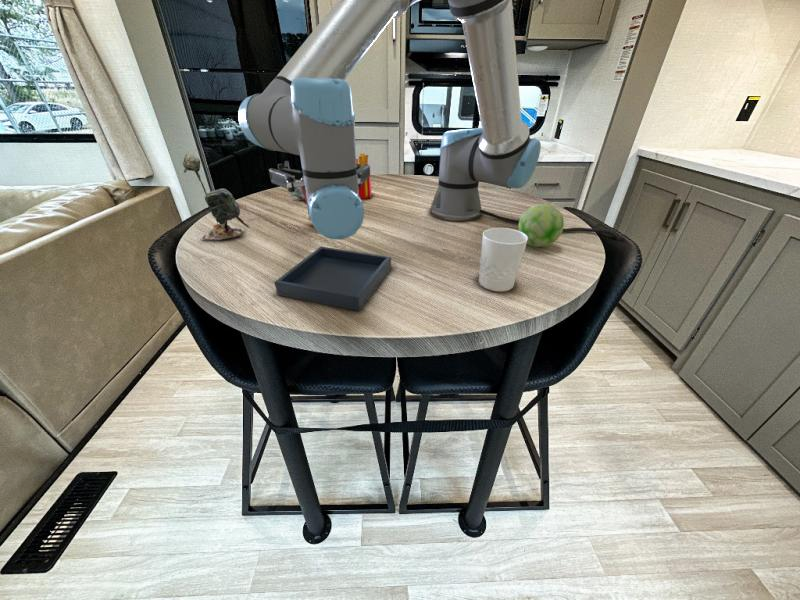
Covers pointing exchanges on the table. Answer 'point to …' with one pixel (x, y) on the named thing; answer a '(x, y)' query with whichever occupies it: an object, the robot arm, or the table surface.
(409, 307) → the table surface
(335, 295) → the tray
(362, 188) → the french fries container
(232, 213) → the plant with pod
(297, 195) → the packaged food
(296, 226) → the table surface
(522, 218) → the decorative ball
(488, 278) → the white cup
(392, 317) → the table surface
